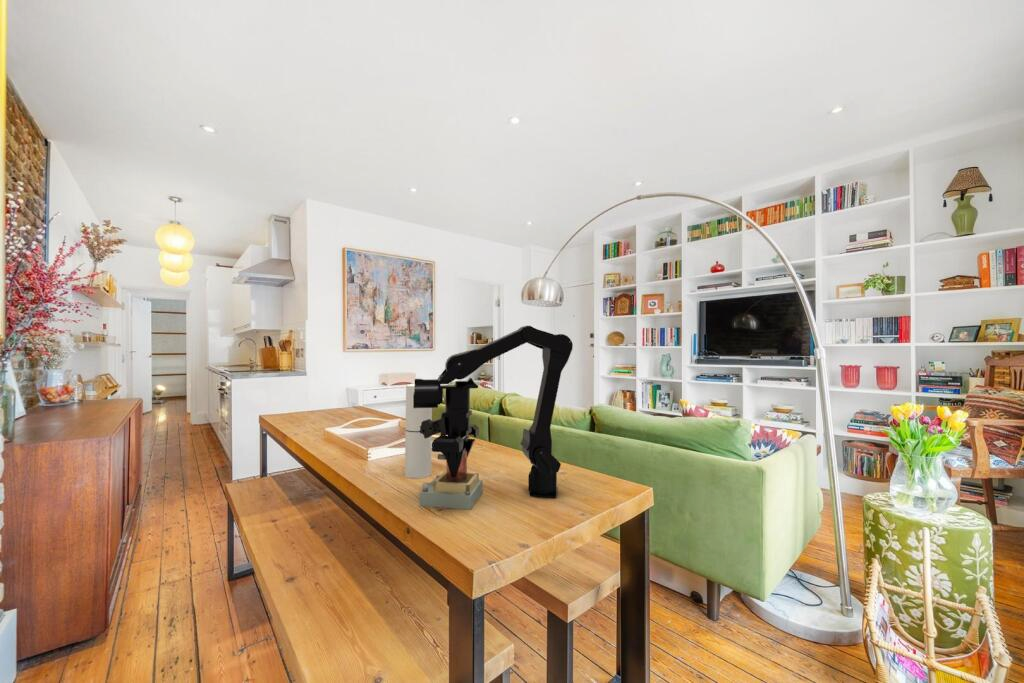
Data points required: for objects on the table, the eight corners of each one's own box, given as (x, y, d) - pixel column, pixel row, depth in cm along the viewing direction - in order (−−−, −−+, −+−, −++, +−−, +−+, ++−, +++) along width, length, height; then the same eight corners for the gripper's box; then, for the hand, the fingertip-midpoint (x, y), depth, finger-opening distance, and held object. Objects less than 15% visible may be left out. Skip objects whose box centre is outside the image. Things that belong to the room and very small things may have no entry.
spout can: (469, 476, 99) (469, 447, 99) (463, 482, 94) (463, 452, 94) (441, 474, 100) (441, 445, 100) (434, 480, 95) (435, 450, 95)
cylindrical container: (400, 474, 115) (401, 384, 116) (422, 469, 120) (423, 383, 121) (413, 480, 110) (414, 386, 110) (435, 474, 115) (437, 385, 115)
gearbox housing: (482, 492, 101) (482, 472, 102) (470, 509, 91) (471, 486, 91) (429, 488, 104) (430, 468, 104) (412, 505, 93) (412, 483, 93)
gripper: (438, 401, 108) (437, 461, 107) (409, 412, 89) (408, 484, 89) (479, 402, 106) (479, 463, 106) (458, 414, 87) (457, 487, 87)
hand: (456, 473), depth 97 cm, fingers closed on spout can, 5 cm apart
